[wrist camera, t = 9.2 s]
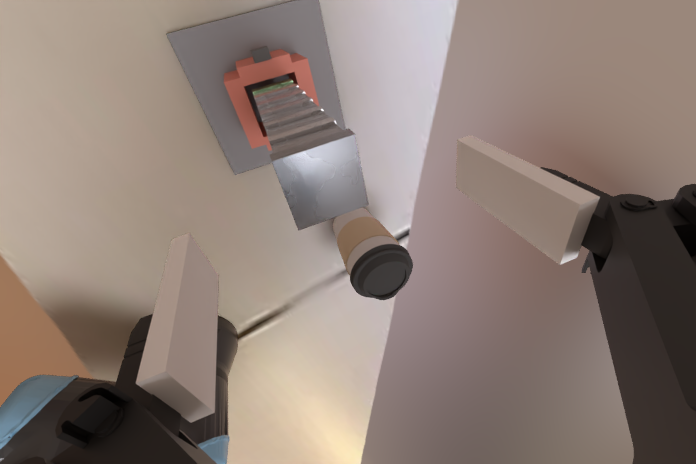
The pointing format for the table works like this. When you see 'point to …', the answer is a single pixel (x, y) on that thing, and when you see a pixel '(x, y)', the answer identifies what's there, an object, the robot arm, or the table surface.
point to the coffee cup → (371, 255)
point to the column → (310, 155)
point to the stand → (256, 72)
